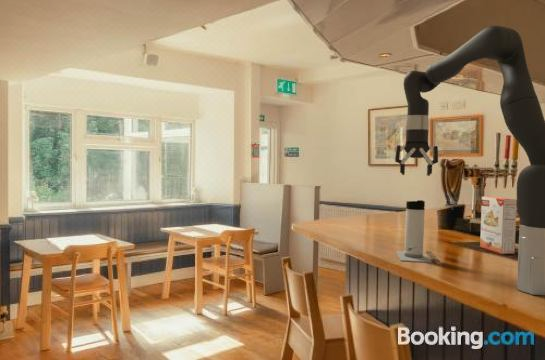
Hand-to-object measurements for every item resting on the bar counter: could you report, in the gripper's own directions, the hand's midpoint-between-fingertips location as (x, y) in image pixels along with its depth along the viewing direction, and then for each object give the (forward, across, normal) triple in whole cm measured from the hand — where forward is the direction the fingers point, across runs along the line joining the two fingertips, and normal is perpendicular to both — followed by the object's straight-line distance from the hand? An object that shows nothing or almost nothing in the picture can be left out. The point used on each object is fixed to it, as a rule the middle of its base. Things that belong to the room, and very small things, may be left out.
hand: (415, 175), depth 160 cm
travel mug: (+29, 0, 0) cm, 29 cm away
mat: (+29, 0, 0) cm, 29 cm away
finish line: (+29, +7, 0) cm, 30 cm away
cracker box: (+29, +34, +23) cm, 51 cm away
